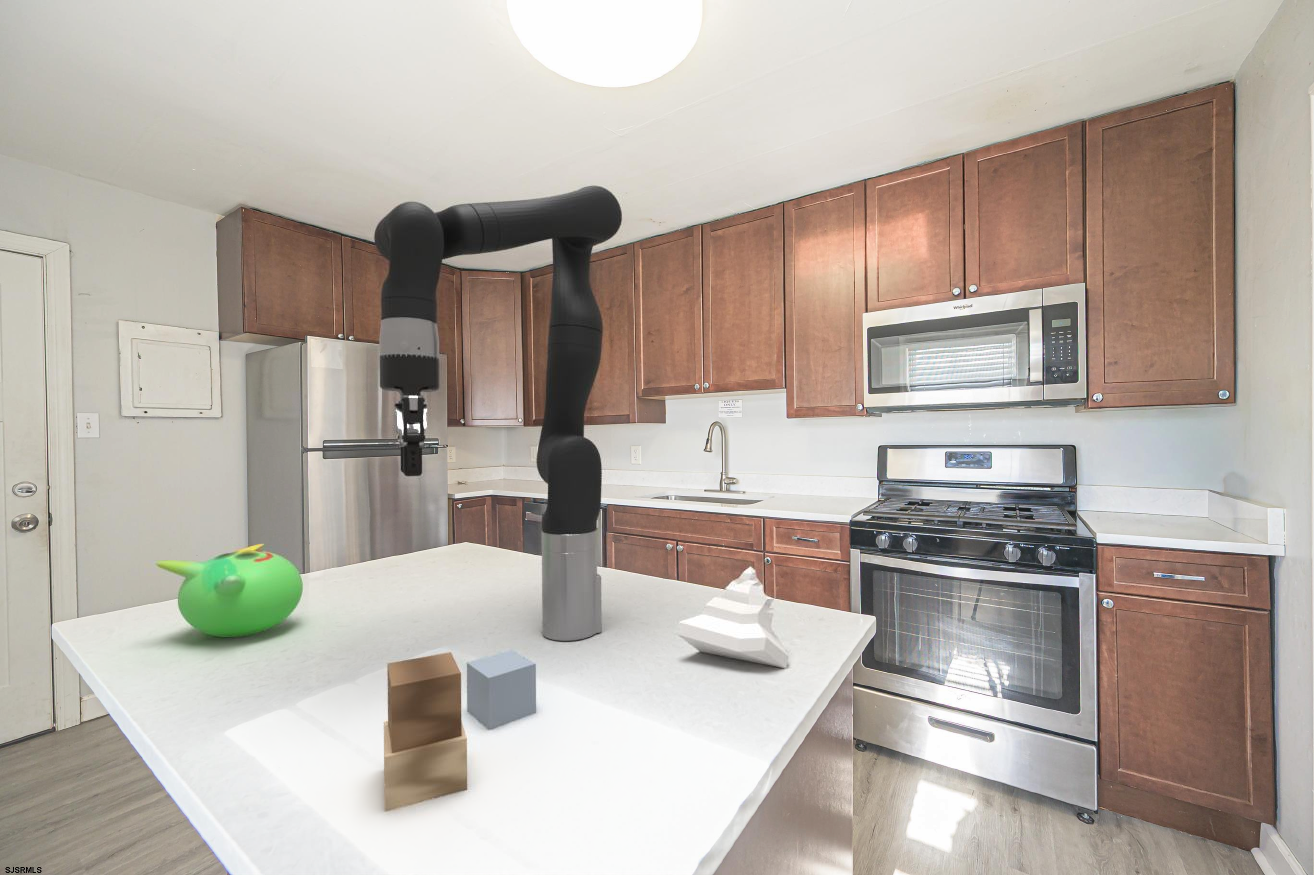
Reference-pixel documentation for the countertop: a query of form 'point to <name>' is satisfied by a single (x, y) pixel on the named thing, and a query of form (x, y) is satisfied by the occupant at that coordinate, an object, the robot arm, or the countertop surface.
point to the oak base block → (424, 771)
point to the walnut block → (423, 701)
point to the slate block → (501, 688)
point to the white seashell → (737, 625)
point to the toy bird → (237, 591)
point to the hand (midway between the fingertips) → (410, 474)
